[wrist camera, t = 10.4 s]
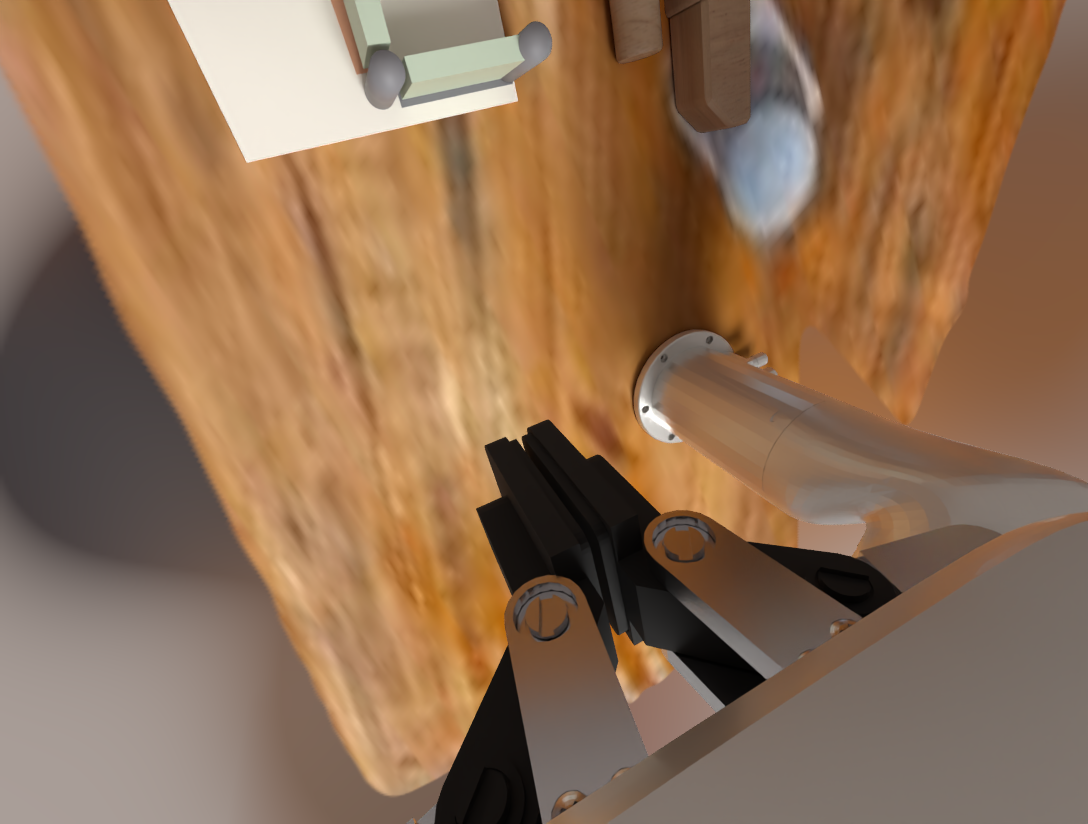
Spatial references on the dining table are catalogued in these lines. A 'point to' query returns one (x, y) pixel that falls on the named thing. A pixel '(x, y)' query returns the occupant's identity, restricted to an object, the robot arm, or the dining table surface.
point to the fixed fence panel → (455, 66)
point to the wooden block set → (694, 54)
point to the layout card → (325, 67)
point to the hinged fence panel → (367, 27)
